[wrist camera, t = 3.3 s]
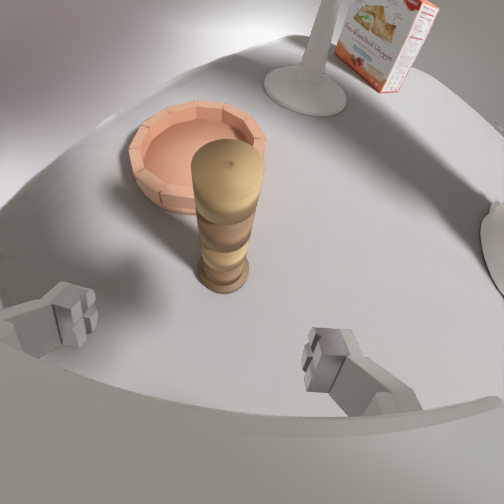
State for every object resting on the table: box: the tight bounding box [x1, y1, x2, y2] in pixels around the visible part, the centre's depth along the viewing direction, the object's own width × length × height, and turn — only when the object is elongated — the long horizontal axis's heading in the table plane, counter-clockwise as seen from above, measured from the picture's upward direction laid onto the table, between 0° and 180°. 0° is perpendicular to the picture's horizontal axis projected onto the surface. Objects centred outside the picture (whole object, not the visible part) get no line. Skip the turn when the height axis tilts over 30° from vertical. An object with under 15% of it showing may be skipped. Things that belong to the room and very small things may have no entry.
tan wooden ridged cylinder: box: [191, 139, 265, 294], centre depth 19 cm, size 4×4×14 cm
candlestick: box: [264, 0, 347, 116], centre depth 25 cm, size 13×13×30 cm
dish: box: [129, 101, 266, 215], centre depth 29 cm, size 14×14×3 cm
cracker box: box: [334, 0, 439, 93], centre depth 35 cm, size 14×6×21 cm, turn 26°
